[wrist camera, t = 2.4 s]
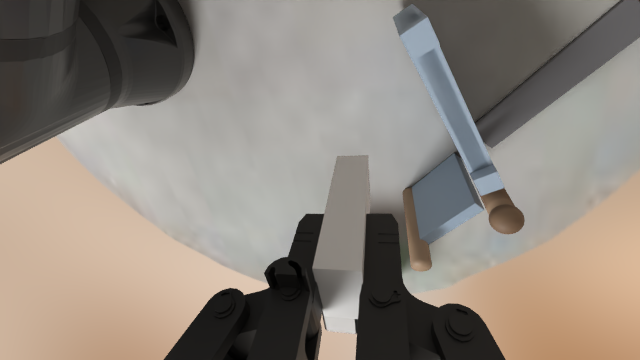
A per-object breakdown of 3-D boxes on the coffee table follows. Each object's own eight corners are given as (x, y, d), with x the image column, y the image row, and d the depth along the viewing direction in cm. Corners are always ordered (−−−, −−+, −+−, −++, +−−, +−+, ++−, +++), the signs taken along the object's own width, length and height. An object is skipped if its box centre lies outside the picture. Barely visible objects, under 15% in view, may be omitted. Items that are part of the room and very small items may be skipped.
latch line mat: (468, 128, 31) (469, 129, 30) (629, -7, 22) (632, -7, 22) (490, 146, 31) (491, 148, 31) (654, 22, 23) (657, 23, 23)
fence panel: (399, 193, 37) (406, 264, 28) (451, 151, 33) (480, 220, 23) (410, 201, 38) (421, 273, 29) (463, 160, 33) (496, 231, 24)
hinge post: (452, 148, 32) (487, 230, 22) (470, 133, 31) (516, 213, 21) (466, 159, 33) (507, 244, 23) (485, 145, 31) (537, 229, 21)
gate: (472, 133, 30) (504, 187, 22) (455, 141, 31) (480, 196, 23) (412, 3, 24) (427, 16, 17) (392, 17, 25) (399, 36, 17)
